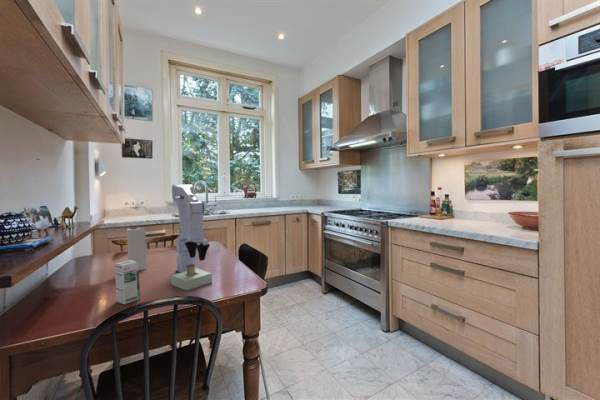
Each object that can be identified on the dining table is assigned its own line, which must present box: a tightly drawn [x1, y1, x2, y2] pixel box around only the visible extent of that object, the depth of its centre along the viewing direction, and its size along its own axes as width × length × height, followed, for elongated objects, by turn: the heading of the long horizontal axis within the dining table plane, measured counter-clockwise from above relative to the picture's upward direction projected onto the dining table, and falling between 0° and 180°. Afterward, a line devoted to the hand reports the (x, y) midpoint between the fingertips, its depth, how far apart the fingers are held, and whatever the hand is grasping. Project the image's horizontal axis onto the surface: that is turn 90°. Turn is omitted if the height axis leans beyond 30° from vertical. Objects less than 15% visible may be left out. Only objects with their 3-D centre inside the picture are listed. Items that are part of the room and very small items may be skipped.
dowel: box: [187, 264, 195, 277], centre depth 119 cm, size 3×3×8 cm
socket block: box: [170, 267, 213, 291], centre depth 119 cm, size 12×12×4 cm
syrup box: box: [114, 260, 141, 305], centre depth 102 cm, size 6×6×14 cm
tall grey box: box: [126, 227, 148, 271], centre depth 139 cm, size 7×6×21 cm
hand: (197, 258), depth 123 cm, fingers open, 7 cm apart
